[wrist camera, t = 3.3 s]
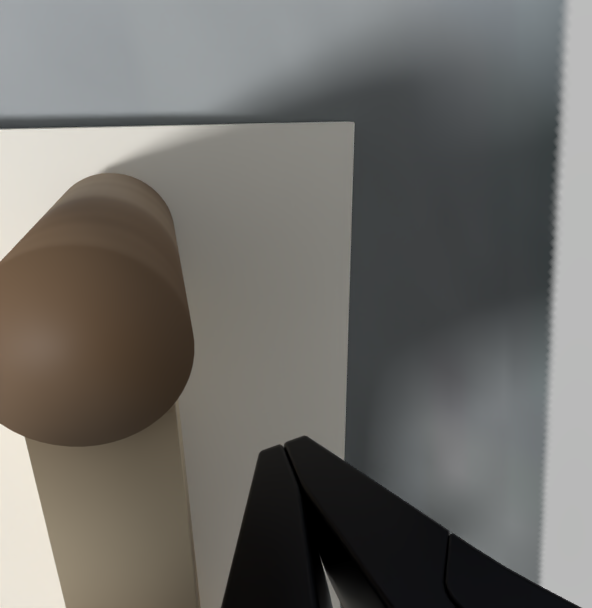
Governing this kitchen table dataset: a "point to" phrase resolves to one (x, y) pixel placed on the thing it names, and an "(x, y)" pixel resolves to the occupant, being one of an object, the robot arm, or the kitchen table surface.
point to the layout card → (209, 309)
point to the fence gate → (104, 391)
